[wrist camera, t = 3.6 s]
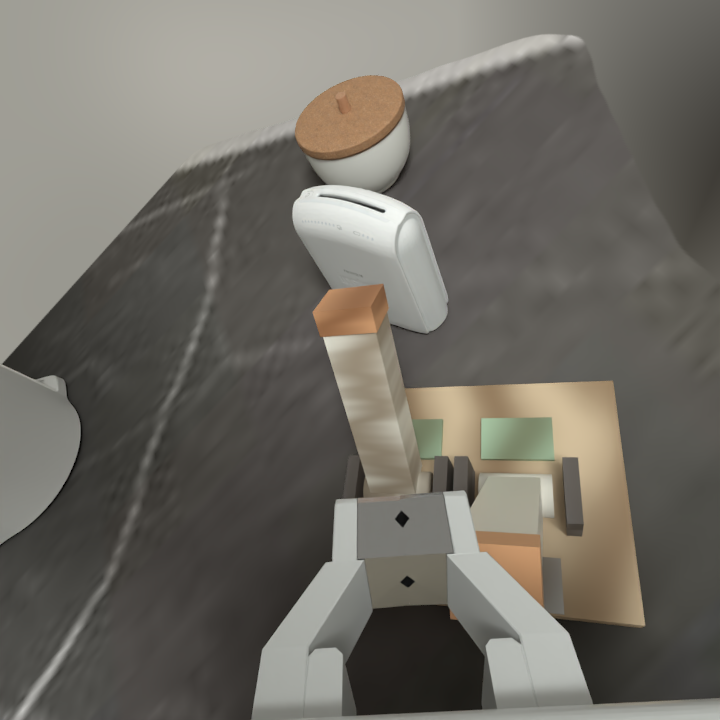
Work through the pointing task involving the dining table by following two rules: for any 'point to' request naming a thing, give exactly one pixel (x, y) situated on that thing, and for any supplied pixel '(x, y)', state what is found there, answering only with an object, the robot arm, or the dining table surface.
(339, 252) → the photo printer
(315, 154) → the lidded jar
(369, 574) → the robot arm
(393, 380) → the console
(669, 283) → the dining table surface
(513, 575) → the lever
